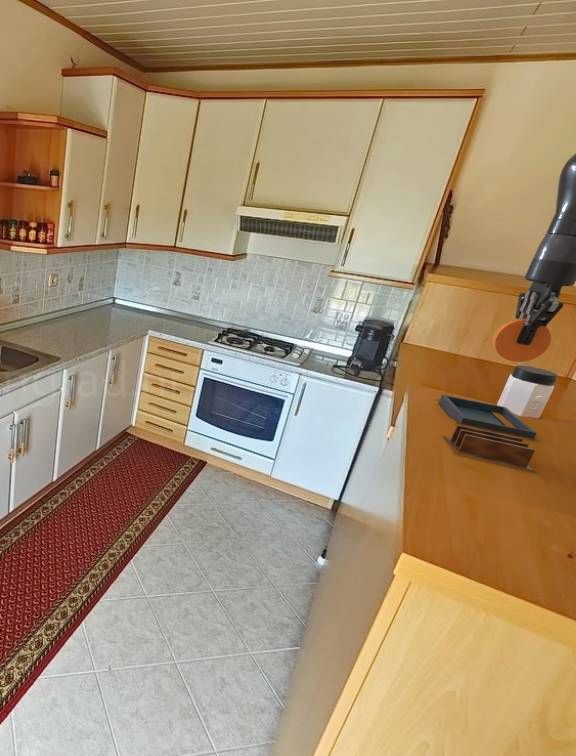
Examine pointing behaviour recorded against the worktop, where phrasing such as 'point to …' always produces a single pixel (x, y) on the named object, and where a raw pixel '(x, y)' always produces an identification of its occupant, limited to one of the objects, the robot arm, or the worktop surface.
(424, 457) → the worktop surface
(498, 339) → the disc
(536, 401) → the jar
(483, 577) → the worktop surface
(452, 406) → the tray
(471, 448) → the rack
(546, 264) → the robot arm
